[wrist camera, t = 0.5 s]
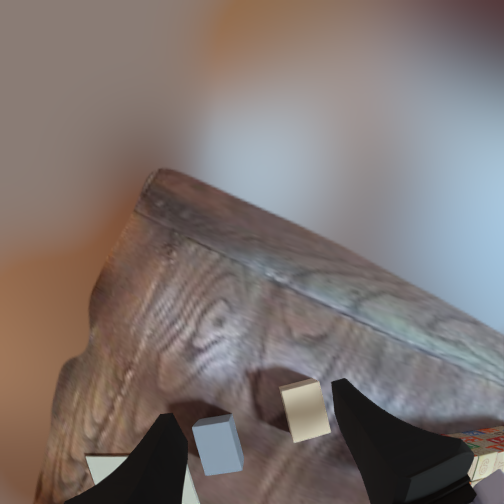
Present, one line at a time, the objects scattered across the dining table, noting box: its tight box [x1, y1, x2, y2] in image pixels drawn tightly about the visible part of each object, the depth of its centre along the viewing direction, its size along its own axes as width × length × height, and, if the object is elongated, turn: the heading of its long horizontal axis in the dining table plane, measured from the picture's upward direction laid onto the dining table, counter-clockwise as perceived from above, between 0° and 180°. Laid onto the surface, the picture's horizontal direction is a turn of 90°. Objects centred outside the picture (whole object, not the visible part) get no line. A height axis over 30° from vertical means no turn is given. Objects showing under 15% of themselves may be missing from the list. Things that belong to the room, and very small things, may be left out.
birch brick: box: [279, 378, 331, 443], centre depth 32 cm, size 6×4×4 cm, turn 13°
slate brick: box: [192, 414, 244, 476], centre depth 30 cm, size 6×4×4 cm, turn 13°
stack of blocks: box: [441, 426, 504, 488], centre depth 24 cm, size 21×6×12 cm, turn 81°
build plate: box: [86, 456, 200, 504], centre depth 29 cm, size 14×14×1 cm
